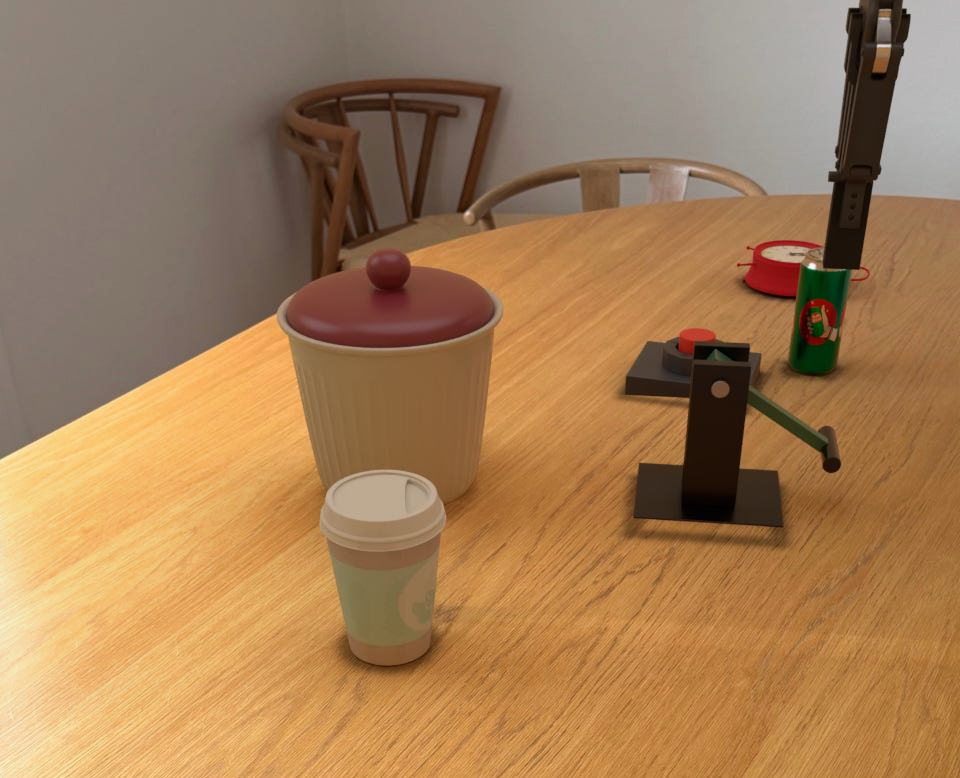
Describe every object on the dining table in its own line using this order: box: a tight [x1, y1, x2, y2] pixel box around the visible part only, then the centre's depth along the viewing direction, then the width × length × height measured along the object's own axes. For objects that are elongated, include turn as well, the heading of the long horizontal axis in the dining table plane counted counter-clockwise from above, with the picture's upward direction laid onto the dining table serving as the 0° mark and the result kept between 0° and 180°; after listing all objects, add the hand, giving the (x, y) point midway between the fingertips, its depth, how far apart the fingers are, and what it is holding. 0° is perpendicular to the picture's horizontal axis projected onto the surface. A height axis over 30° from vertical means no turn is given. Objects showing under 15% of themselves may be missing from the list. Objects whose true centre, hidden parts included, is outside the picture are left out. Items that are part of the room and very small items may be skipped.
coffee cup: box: [318, 470, 447, 667], centre depth 87 cm, size 8×8×12 cm
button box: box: [624, 336, 762, 399], centre depth 127 cm, size 12×10×4 cm
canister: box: [276, 247, 504, 506], centre depth 104 cm, size 18×18×21 cm
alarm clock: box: [736, 239, 871, 297], centre depth 152 cm, size 10×6×15 cm
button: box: [678, 327, 717, 355], centre depth 126 cm, size 4×4×2 cm
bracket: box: [633, 341, 784, 528], centre depth 103 cm, size 12×10×14 cm
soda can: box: [787, 248, 853, 376], centre depth 128 cm, size 5×5×12 cm
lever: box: [707, 349, 842, 474], centre depth 101 cm, size 13×6×2 cm
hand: (840, 265), depth 97 cm, fingers closed
